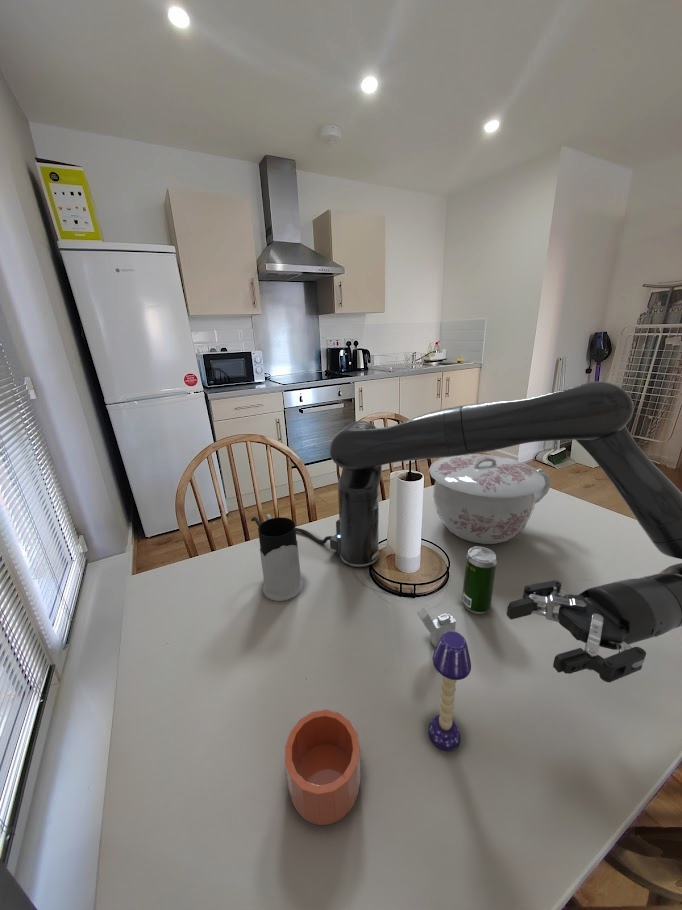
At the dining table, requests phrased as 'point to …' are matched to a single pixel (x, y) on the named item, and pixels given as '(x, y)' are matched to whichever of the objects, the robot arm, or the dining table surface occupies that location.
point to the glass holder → (279, 558)
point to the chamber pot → (486, 495)
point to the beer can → (479, 579)
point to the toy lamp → (449, 687)
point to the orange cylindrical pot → (323, 766)
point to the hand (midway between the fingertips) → (530, 636)
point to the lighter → (437, 625)
